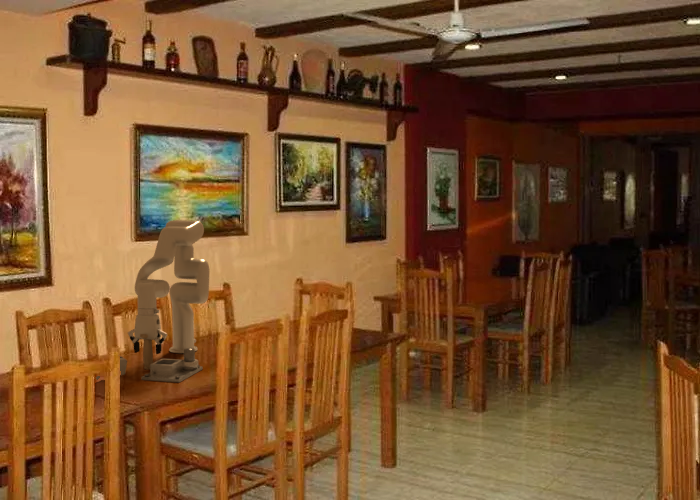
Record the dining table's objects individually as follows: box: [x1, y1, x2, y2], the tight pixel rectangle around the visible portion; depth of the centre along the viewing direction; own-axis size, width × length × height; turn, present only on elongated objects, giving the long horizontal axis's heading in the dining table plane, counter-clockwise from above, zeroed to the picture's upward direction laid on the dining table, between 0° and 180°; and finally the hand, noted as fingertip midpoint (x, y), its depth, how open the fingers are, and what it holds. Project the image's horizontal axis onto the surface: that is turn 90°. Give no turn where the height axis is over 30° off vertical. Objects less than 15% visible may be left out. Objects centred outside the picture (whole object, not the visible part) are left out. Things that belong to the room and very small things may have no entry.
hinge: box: [96, 355, 128, 380], centre depth 311 cm, size 17×5×10 cm, turn 152°
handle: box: [140, 334, 154, 371], centre depth 326 cm, size 5×6×15 cm
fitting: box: [141, 348, 203, 383], centre depth 317 cm, size 22×16×9 cm
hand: (147, 352), depth 326 cm, fingers open, 9 cm apart
